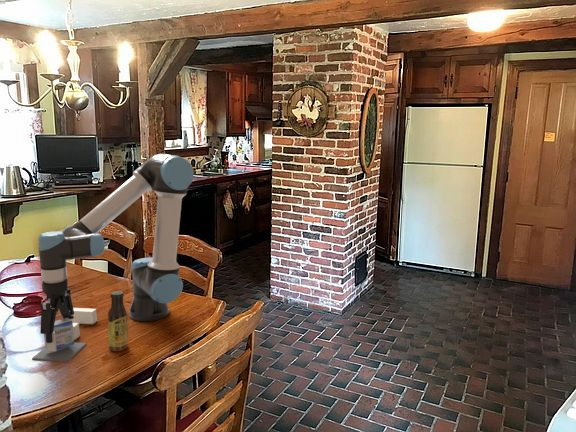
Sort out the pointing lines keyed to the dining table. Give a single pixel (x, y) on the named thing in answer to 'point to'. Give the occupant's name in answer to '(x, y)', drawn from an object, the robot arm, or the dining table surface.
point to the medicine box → (62, 333)
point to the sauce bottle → (117, 323)
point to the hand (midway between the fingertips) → (59, 343)
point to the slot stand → (82, 319)
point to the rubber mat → (60, 353)
